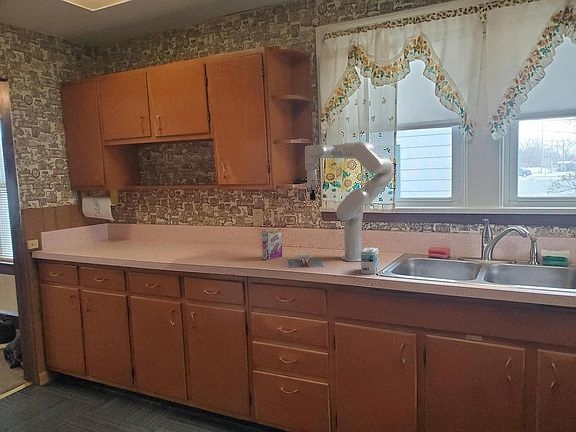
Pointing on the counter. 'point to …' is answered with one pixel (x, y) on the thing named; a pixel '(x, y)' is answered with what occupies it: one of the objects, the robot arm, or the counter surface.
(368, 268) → the light bulb box
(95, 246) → the counter surface
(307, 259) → the lock tab
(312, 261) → the mat
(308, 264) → the tongs fixed
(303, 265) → the tong arm
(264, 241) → the candy bar box
